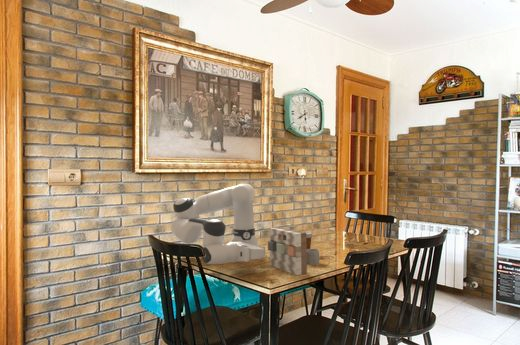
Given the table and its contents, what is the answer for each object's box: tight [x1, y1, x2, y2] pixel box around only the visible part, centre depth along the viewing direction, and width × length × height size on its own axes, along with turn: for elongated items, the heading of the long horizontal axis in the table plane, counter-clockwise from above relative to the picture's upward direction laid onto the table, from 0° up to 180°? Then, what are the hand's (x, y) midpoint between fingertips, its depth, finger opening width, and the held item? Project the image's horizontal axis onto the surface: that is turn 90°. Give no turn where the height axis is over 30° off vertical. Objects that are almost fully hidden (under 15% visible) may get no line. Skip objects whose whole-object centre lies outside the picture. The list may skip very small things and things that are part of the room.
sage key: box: [276, 243, 286, 254], centre depth 182 cm, size 4×3×4 cm
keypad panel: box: [269, 227, 308, 276], centre depth 183 cm, size 22×6×18 cm, turn 30°
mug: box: [307, 248, 320, 266], centre depth 194 cm, size 10×7×7 cm
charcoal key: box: [267, 240, 277, 252], centre depth 188 cm, size 4×3×4 cm
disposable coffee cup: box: [304, 231, 313, 249], centre depth 214 cm, size 10×10×12 cm
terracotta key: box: [288, 245, 295, 256], centre depth 176 cm, size 4×3×4 cm
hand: (263, 248), depth 185 cm, fingers closed
